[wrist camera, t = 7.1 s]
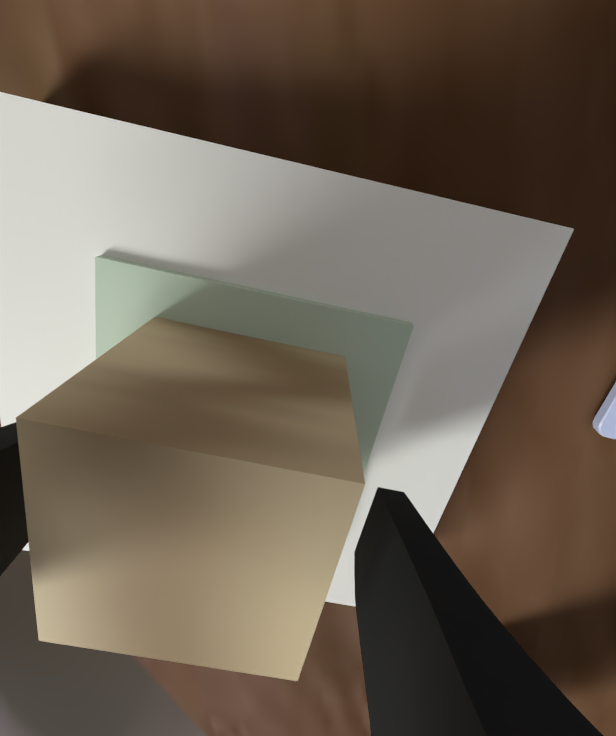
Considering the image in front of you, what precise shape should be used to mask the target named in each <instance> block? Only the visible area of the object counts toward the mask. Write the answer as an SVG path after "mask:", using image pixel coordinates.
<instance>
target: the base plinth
mask: <svg viewBox="0 0 616 736" xmlns="http://www.w3.org/2000/svg"><path fill="white" fill-rule="evenodd" d="M573 230H574V229H573V228H569V227H564V226H560V225H556V224H552V223H548V222H543V221H539V220H535V219H531V218H527V217H522V216H518V215H514V214H510V213H506V212H501V211H497V210H493V209H489V208H485V207H480V206H476V205H472V204H468V203H464V202H459V201H455V200H451V199H447V198H443V197H438V196H434V195H430V194H426V193H422V192H417V191H413V190H409V189H405V188H401V187H396V186H392V185H388V184H384V183H380V182H375V181H371V180H367V179H363V178H359V177H354V176H350V175H346V174H342V173H338V172H333V171H329V170H325V169H321V168H317V167H312V166H308V165H304V164H300V163H296V162H291V161H287V160H283V159H279V158H275V157H270V156H266V155H262V154H258V153H254V152H249V151H245V150H241V149H237V148H233V147H228V146H224V145H220V144H216V143H212V142H207V141H203V140H199V139H195V138H191V137H186V136H182V135H178V134H174V133H170V132H165V131H161V130H157V129H153V128H149V127H144V126H140V125H136V124H132V123H128V122H123V121H119V120H115V119H111V118H107V117H102V116H98V115H94V114H90V113H86V112H81V111H77V110H73V109H69V108H65V107H60V106H56V105H52V104H48V103H44V102H39V101H35V100H31V99H27V98H23V97H18V96H14V95H10V94H6V93H2V92H0V419H1V427H3V426H6V425H9V424H12V423H15V422H16V417H17V416H19V415H20V414H22V413H23V412H24V411H26V410H27V409H28V408H30V407H31V406H33V405H34V404H35V403H37V402H38V401H39V400H41V399H42V398H44V397H45V396H46V395H48V394H49V393H50V392H52V391H53V390H55V389H56V388H57V387H59V386H60V385H61V384H63V383H64V382H66V381H67V380H68V379H70V378H71V377H72V376H74V375H75V374H77V373H78V372H79V371H81V370H82V369H83V368H85V367H86V366H88V365H89V364H90V363H92V362H93V361H94V360H96V359H97V358H99V357H100V356H101V355H103V354H104V353H105V352H107V351H108V350H110V349H111V348H112V347H114V346H115V345H116V344H118V343H119V342H121V341H122V340H123V339H125V338H126V337H127V336H129V335H130V334H132V333H133V332H134V331H136V330H137V329H139V328H140V327H141V326H143V325H144V324H145V323H147V322H148V321H150V320H151V319H152V318H154V317H158V318H163V319H168V320H173V321H178V322H182V323H187V324H192V325H197V326H201V327H206V328H211V329H216V330H221V331H225V332H230V333H235V334H240V335H244V336H249V337H254V338H259V339H264V340H268V341H273V342H278V343H283V344H287V345H292V346H297V347H302V348H306V349H311V350H316V351H321V352H326V353H330V354H335V355H340V356H345V361H346V367H347V374H348V380H349V386H350V392H351V399H352V405H353V411H354V417H355V424H356V430H357V436H358V442H359V449H360V455H361V461H362V467H363V473H364V480H365V486H364V489H363V492H362V495H361V498H360V501H359V504H358V507H357V509H356V512H355V515H354V518H353V521H352V524H351V527H350V530H349V533H348V536H347V539H346V541H345V544H344V547H343V550H342V553H341V556H340V559H339V562H338V565H337V568H336V570H335V573H334V576H333V579H332V582H331V585H330V588H329V591H328V594H327V597H326V600H325V601H326V602H332V603H338V604H344V605H350V606H356V604H355V579H354V551H355V549H356V546H357V543H358V540H359V538H360V535H361V532H362V529H363V526H364V524H365V521H366V518H367V515H368V513H369V510H370V507H371V504H372V502H373V499H374V496H375V493H376V491H377V488H378V487H380V488H386V489H391V490H396V491H401V492H404V493H405V494H406V496H407V497H408V498H409V500H410V501H411V502H412V504H413V505H414V507H415V508H416V510H417V511H418V512H419V514H420V515H421V517H422V518H423V520H424V521H425V523H426V524H427V525H428V527H429V528H430V530H431V531H432V533H434V531H435V529H436V527H437V524H438V522H439V520H440V518H441V516H442V514H443V511H444V509H445V507H446V505H447V503H448V501H449V498H450V496H451V494H452V492H453V490H454V488H455V485H456V483H457V481H458V479H459V477H460V475H461V472H462V470H463V468H464V466H465V464H466V462H467V459H468V457H469V455H470V453H471V451H472V449H473V447H474V444H475V442H476V440H477V438H478V436H479V434H480V431H481V429H482V427H483V425H484V423H485V421H486V418H487V416H488V414H489V412H490V410H491V408H492V405H493V403H494V401H495V399H496V397H497V395H498V392H499V390H500V388H501V386H502V384H503V382H504V380H505V377H506V375H507V373H508V371H509V369H510V367H511V364H512V362H513V360H514V358H515V356H516V354H517V351H518V349H519V347H520V345H521V343H522V341H523V338H524V336H525V334H526V332H527V330H528V328H529V325H530V323H531V321H532V319H533V317H534V315H535V312H536V310H537V308H538V306H539V304H540V302H541V300H542V297H543V295H544V293H545V291H546V289H547V287H548V284H549V282H550V280H551V278H552V276H553V274H554V271H555V269H556V267H557V265H558V263H559V261H560V258H561V256H562V254H563V252H564V250H565V248H566V245H567V243H568V241H569V239H570V237H571V235H572V233H573ZM22 550H26V551H29V542H28V543H27V544H26V546H25V547H24V548H23V549H22Z"/></svg>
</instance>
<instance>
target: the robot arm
mask: <svg viewBox="0 0 616 736" xmlns="http://www.w3.org/2000/svg"><path fill="white" fill-rule="evenodd" d="M593 428H594V429H595V430H596V431H597V432H598V433H599V434H600V435H602V436H604V437H607V438H612V439H616V382H615V384H614V386H613V387H612V389H611V391H610V392H609V394H608V396H607V397H606V399H605V401H604V403H603V404H602V406H601V408H600V409H599V411H598V413H597V414H596V416H595V418H594V420H593ZM28 542H29V541H28V532H27V522H26V512H25V503H24V493H23V483H22V474H21V464H20V454H19V445H18V435H17V426H16V422H15V423H12V424H9V425H6V426H3V427H0V576H1V574H2V573H3V572H4V571H5V570H6V568H7V567H8V566H9V565H10V564H11V562H12V561H13V560H14V559H15V558H16V556H17V555H18V554H19V553H20V552H21V550H22V549H23V548H24V547H25V546H26V544H27V543H28ZM354 579H355V604H356V613H357V621H358V630H359V638H360V646H361V654H362V662H363V670H364V678H365V686H366V694H367V702H368V710H369V718H370V728H371V736H603V735H602V734H601V733H600V732H599V731H598V730H597V729H596V728H595V727H594V726H593V725H592V724H591V723H590V722H589V721H588V720H587V719H586V718H585V717H584V716H583V715H582V714H581V712H580V711H579V710H578V709H577V708H576V707H575V706H574V705H573V704H572V703H571V702H570V701H569V700H568V699H567V698H566V697H565V696H564V694H563V693H562V692H561V691H560V690H559V689H558V688H557V687H556V686H555V684H554V683H553V682H552V681H551V680H550V679H549V678H548V677H547V676H546V675H545V673H544V672H543V671H542V670H541V669H540V668H539V667H538V666H537V665H536V663H535V662H534V661H533V660H532V659H531V658H530V657H529V656H528V655H527V653H526V652H525V651H524V650H523V649H522V648H521V646H520V645H519V644H518V643H517V642H516V641H515V639H514V638H513V637H512V636H511V635H510V634H509V632H508V631H507V630H506V629H505V627H504V626H503V625H502V624H501V622H500V621H499V620H498V619H497V618H496V616H495V615H494V614H493V613H492V611H491V610H490V609H489V608H488V606H487V605H486V604H485V603H484V601H483V600H482V599H481V598H480V596H479V595H478V594H477V592H476V591H475V590H474V589H473V587H472V586H471V585H470V583H469V582H468V581H467V579H466V578H465V577H464V575H463V574H462V573H461V571H460V570H459V569H458V567H457V566H456V565H455V563H454V562H453V561H452V559H451V558H450V556H449V555H448V554H447V552H446V551H445V550H444V548H443V547H442V545H441V544H440V543H439V541H438V540H437V538H436V537H435V535H434V534H433V533H432V531H431V530H430V528H429V527H428V525H427V524H426V523H425V521H424V520H423V518H422V517H421V515H420V514H419V512H418V511H417V510H416V508H415V507H414V505H413V504H412V502H411V501H410V500H409V498H408V497H407V496H406V494H405V493H404V492H401V491H396V490H391V489H386V488H380V487H378V488H377V491H376V493H375V496H374V499H373V502H372V504H371V507H370V510H369V513H368V515H367V518H366V521H365V524H364V526H363V529H362V532H361V535H360V538H359V540H358V543H357V546H356V549H355V551H354Z"/></svg>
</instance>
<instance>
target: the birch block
mask: <svg viewBox="0 0 616 736" xmlns="http://www.w3.org/2000/svg"><path fill="white" fill-rule="evenodd" d="M16 426H17V435H18V445H19V454H20V464H21V474H22V483H23V493H24V503H25V512H26V522H27V532H28V541H29V551H30V560H31V570H32V579H33V589H34V599H35V607H36V608H35V609H36V617H37V628H38V637H39V641H45V642H52V643H58V644H64V645H70V646H77V647H83V648H90V649H97V650H103V651H109V652H115V653H122V654H128V655H134V656H141V657H147V658H153V659H160V660H166V661H172V662H179V663H185V664H192V665H198V666H204V667H211V668H217V669H223V670H230V671H236V672H243V673H249V674H255V675H262V676H268V677H274V678H281V679H287V680H294V681H298V678H299V675H300V672H301V669H302V666H303V664H304V661H305V658H306V655H307V652H308V649H309V646H310V643H311V640H312V637H313V634H314V632H315V629H316V626H317V623H318V620H319V617H320V614H321V611H322V608H323V605H324V602H325V600H326V597H327V594H328V591H329V588H330V585H331V582H332V579H333V576H334V573H335V570H336V568H337V565H338V562H339V559H340V556H341V553H342V550H343V547H344V544H345V541H346V539H347V536H348V533H349V530H350V527H351V524H352V521H353V518H354V515H355V512H356V509H357V507H358V504H359V501H360V498H361V495H362V492H363V489H364V486H365V480H364V473H363V467H362V461H361V455H360V449H359V442H358V436H357V430H356V424H355V417H354V411H353V405H352V399H351V392H350V386H349V380H348V374H347V367H346V361H345V356H340V355H335V354H330V353H326V352H321V351H316V350H311V349H306V348H302V347H297V346H292V345H287V344H283V343H278V342H273V341H268V340H264V339H259V338H254V337H249V336H244V335H240V334H235V333H230V332H225V331H221V330H216V329H211V328H206V327H201V326H197V325H192V324H187V323H182V322H178V321H173V320H168V319H163V318H158V317H154V318H152V319H151V320H150V321H148V322H147V323H145V324H144V325H143V326H141V327H140V328H139V329H137V330H136V331H134V332H133V333H132V334H130V335H129V336H127V337H126V338H125V339H123V340H122V341H121V342H119V343H118V344H116V345H115V346H114V347H112V348H111V349H110V350H108V351H107V352H105V353H104V354H103V355H101V356H100V357H99V358H97V359H96V360H94V361H93V362H92V363H90V364H89V365H88V366H86V367H85V368H83V369H82V370H81V371H79V372H78V373H77V374H75V375H74V376H72V377H71V378H70V379H68V380H67V381H66V382H64V383H63V384H61V385H60V386H59V387H57V388H56V389H55V390H53V391H52V392H50V393H49V394H48V395H46V396H45V397H44V398H42V399H41V400H39V401H38V402H37V403H35V404H34V405H33V406H31V407H30V408H28V409H27V410H26V411H24V412H23V413H22V414H20V415H19V416H17V417H16Z"/></svg>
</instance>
